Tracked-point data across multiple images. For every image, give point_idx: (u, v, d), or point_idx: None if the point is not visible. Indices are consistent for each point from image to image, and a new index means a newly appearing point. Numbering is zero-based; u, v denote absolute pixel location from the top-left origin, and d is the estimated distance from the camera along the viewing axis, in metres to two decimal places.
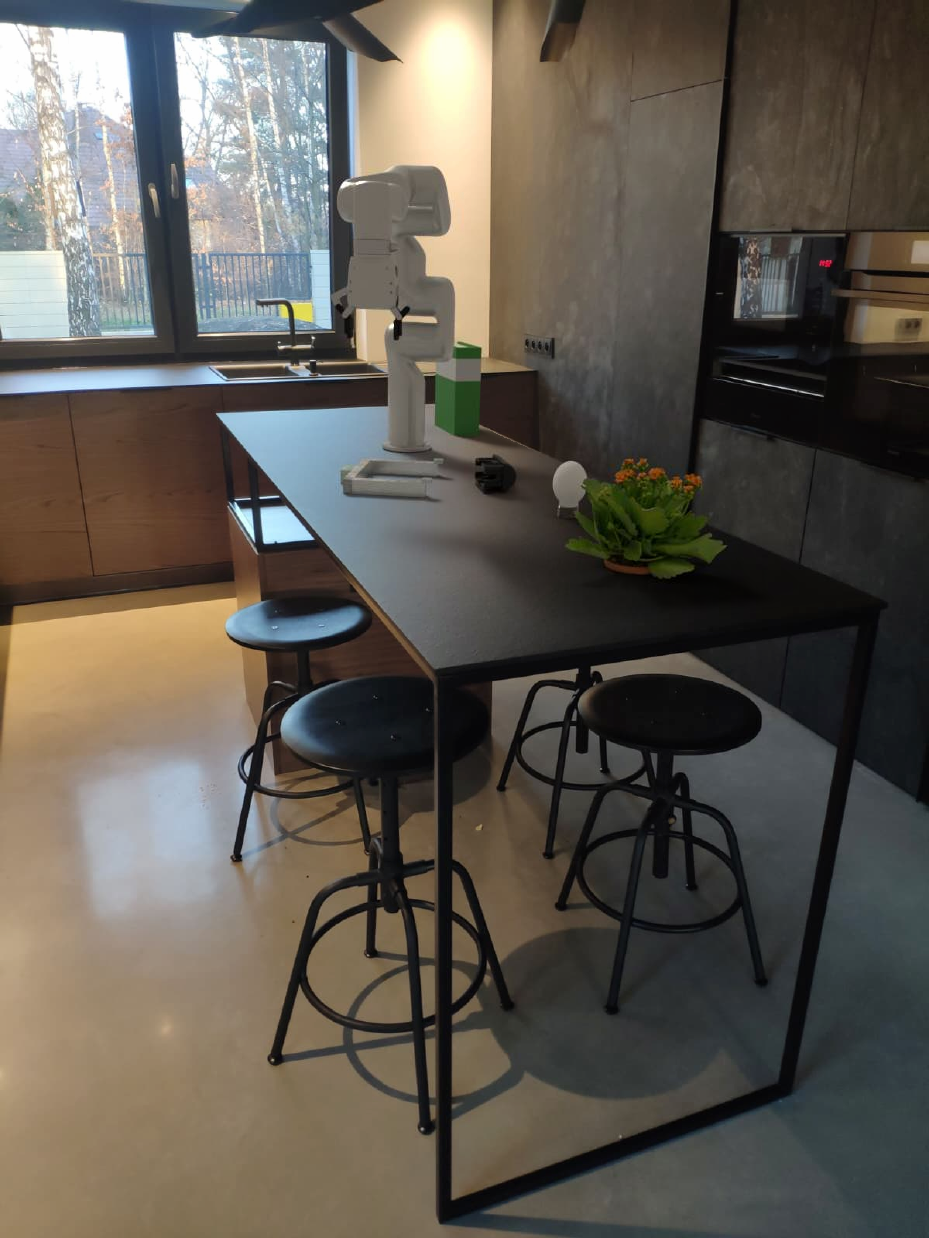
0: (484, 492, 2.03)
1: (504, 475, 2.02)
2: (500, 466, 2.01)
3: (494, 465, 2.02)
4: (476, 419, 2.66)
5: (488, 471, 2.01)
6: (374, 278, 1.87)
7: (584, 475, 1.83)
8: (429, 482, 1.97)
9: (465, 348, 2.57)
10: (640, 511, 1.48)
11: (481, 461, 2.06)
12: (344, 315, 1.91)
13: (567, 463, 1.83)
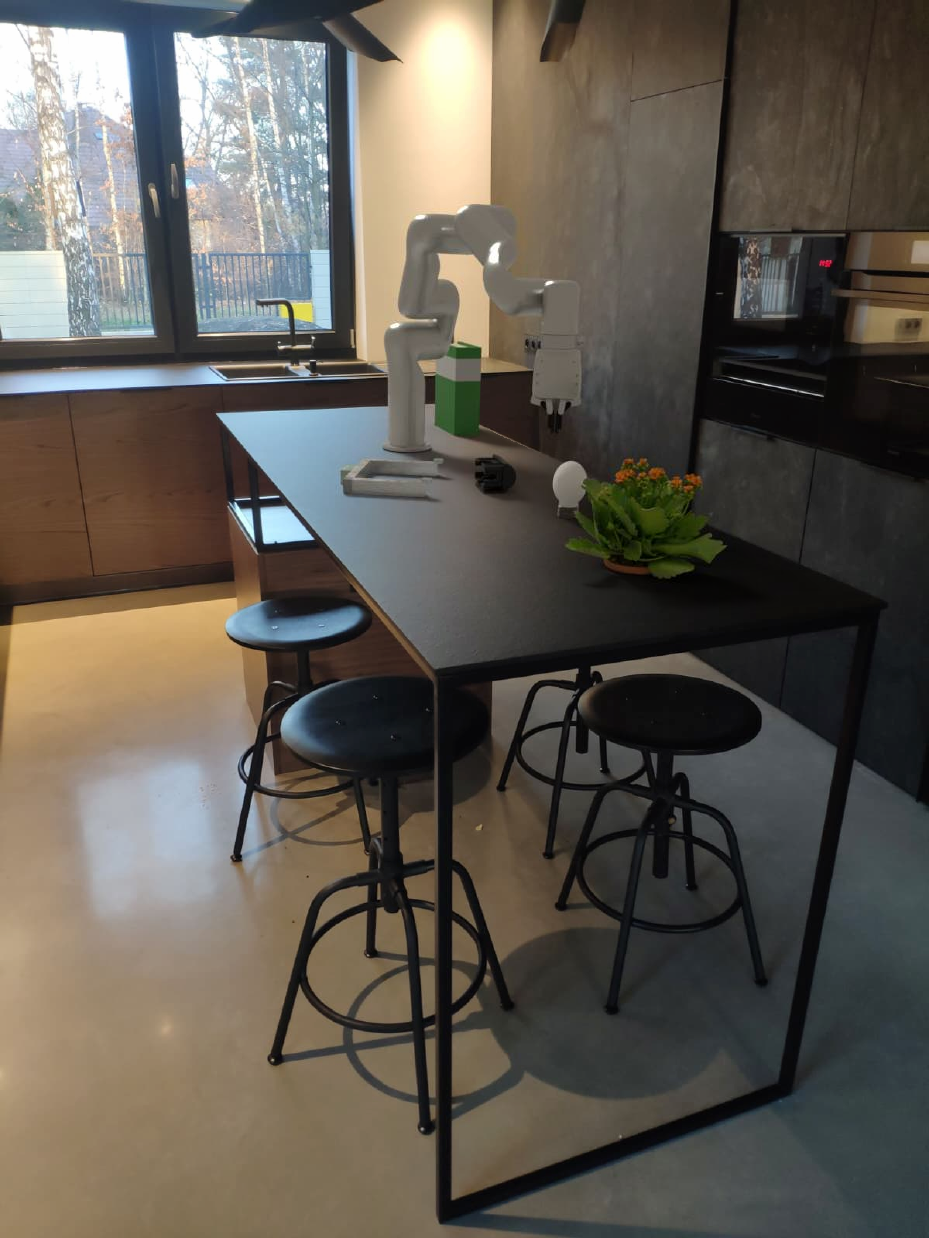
0: (484, 492, 2.03)
1: (504, 475, 2.02)
2: (500, 466, 2.01)
3: (494, 465, 2.02)
4: (476, 419, 2.66)
5: (488, 471, 2.01)
6: (561, 371, 1.94)
7: (584, 475, 1.83)
8: (429, 482, 1.97)
9: (465, 348, 2.57)
10: (640, 511, 1.48)
11: (481, 461, 2.06)
12: (549, 411, 1.99)
13: (567, 463, 1.83)
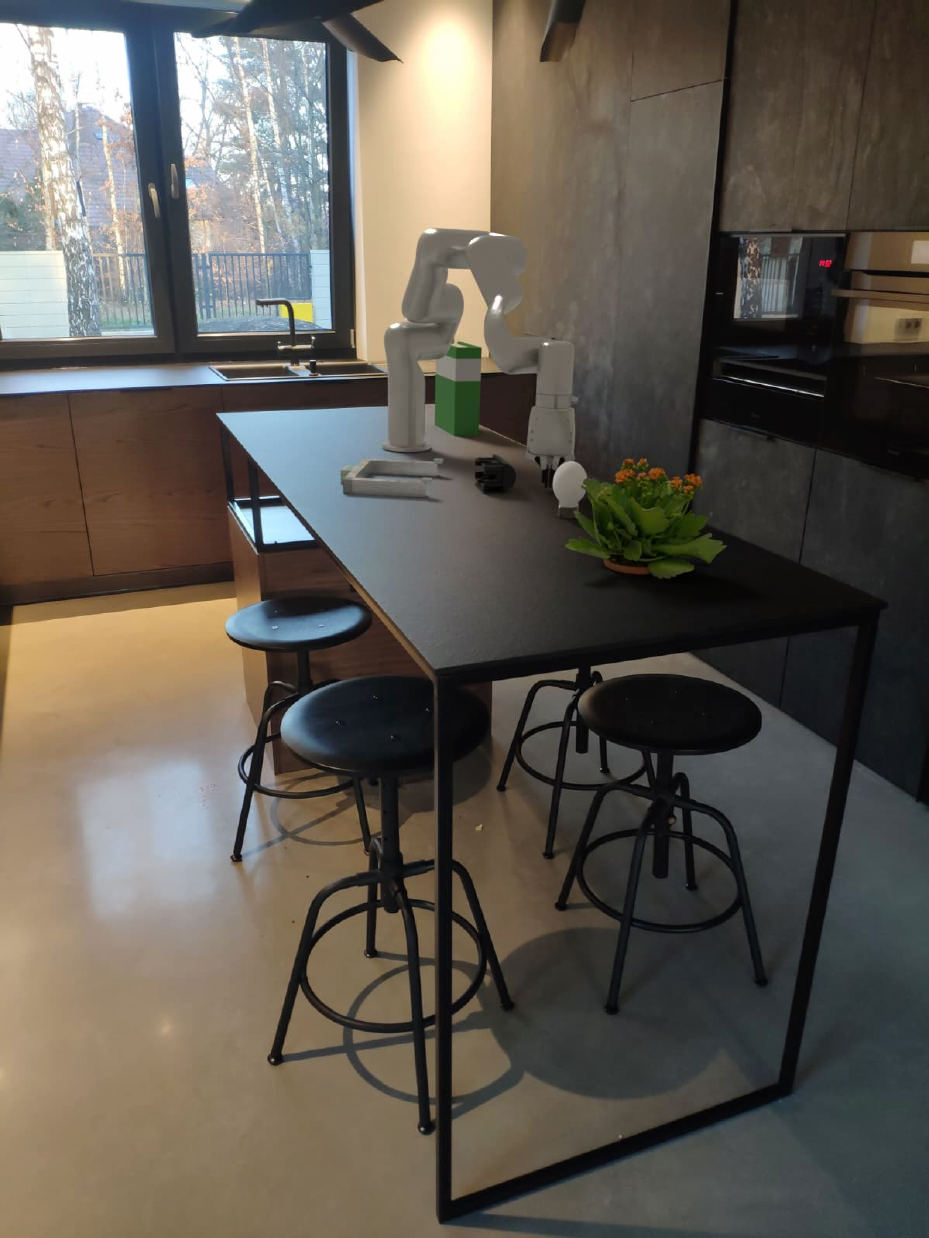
0: (484, 492, 2.03)
1: (504, 475, 2.02)
2: (500, 466, 2.01)
3: (494, 465, 2.02)
4: (476, 419, 2.66)
5: (488, 471, 2.01)
6: (555, 428, 1.99)
7: (584, 475, 1.83)
8: (429, 482, 1.97)
9: (465, 348, 2.57)
10: (640, 511, 1.48)
11: (481, 461, 2.06)
12: (543, 467, 2.03)
13: (567, 463, 1.83)
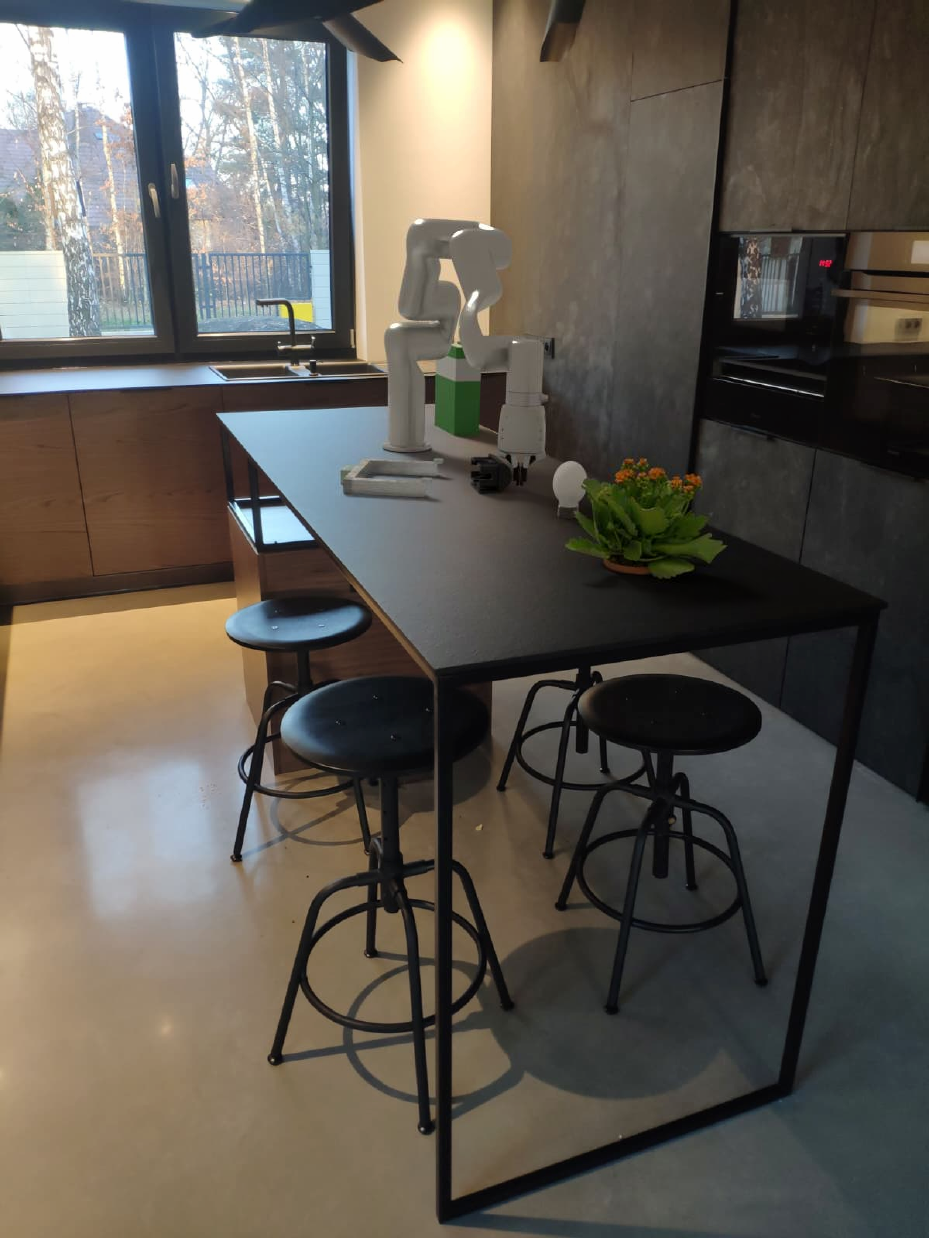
0: (480, 491, 2.03)
1: (500, 474, 2.01)
2: (495, 465, 2.01)
3: (490, 464, 2.01)
4: (476, 419, 2.66)
5: (484, 470, 2.01)
6: (525, 426, 1.99)
7: (584, 475, 1.83)
8: (429, 482, 1.97)
9: None
10: (640, 511, 1.48)
11: (477, 460, 2.06)
12: (514, 465, 2.04)
13: (567, 463, 1.83)
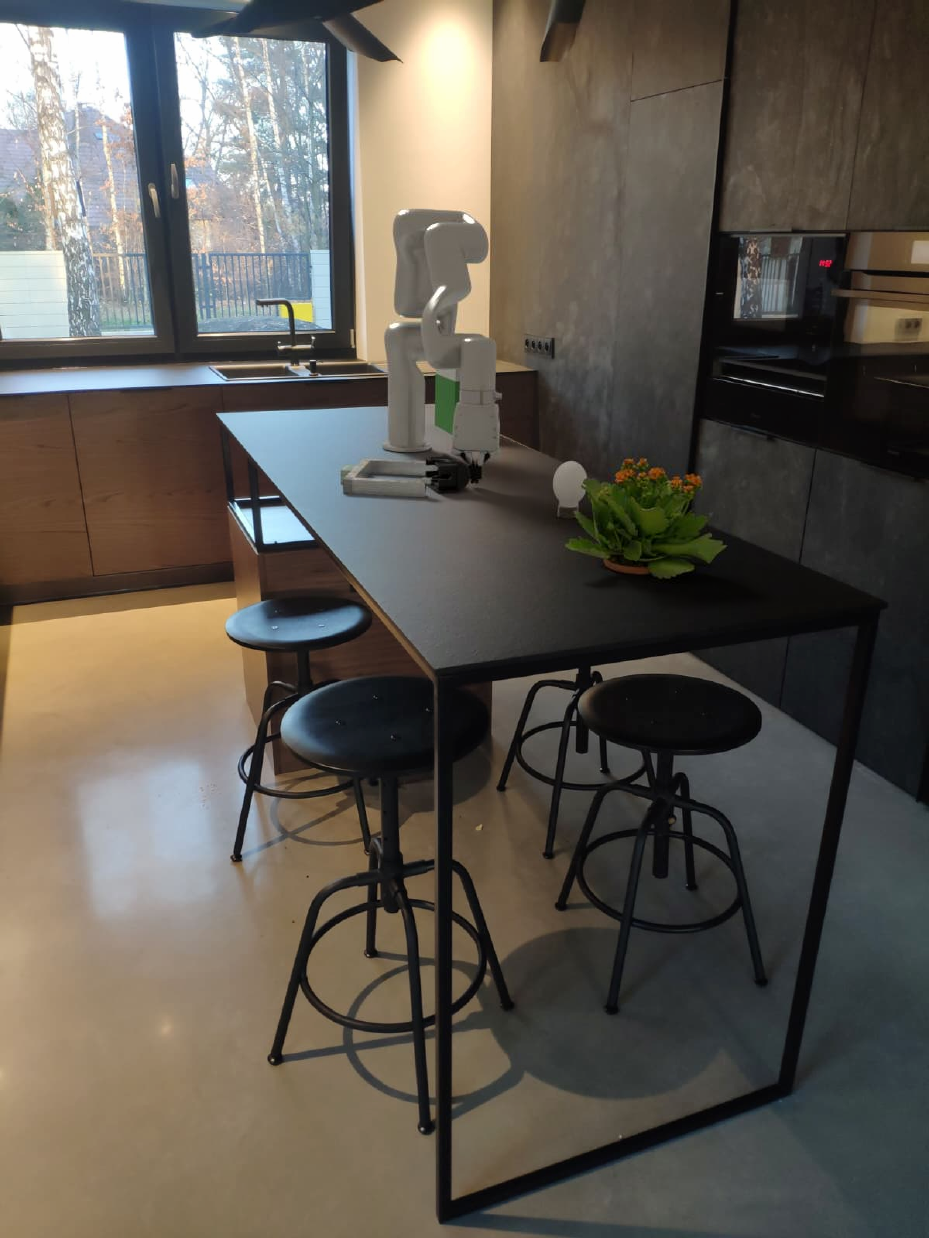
0: (439, 491, 2.02)
1: (458, 474, 2.01)
2: (454, 465, 2.01)
3: (448, 464, 2.01)
4: None
5: (443, 470, 2.00)
6: (479, 424, 2.00)
7: (584, 475, 1.83)
8: (429, 482, 1.97)
9: None
10: (640, 511, 1.48)
11: (433, 460, 2.05)
12: (468, 462, 2.05)
13: (567, 463, 1.83)
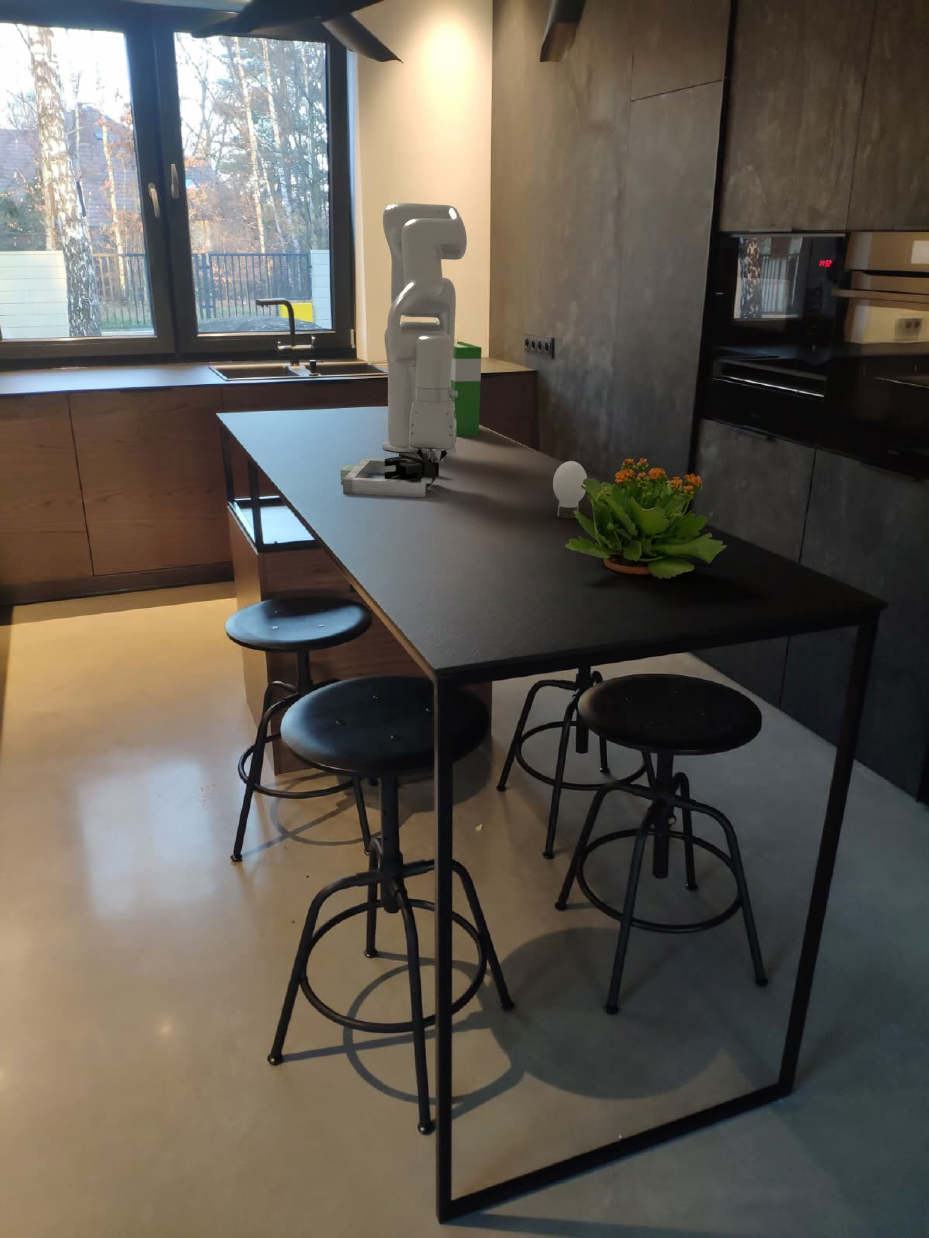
0: None
1: (425, 473, 2.01)
2: (420, 464, 2.01)
3: (414, 463, 2.00)
4: (476, 419, 2.66)
5: (410, 470, 1.99)
6: (435, 422, 2.01)
7: (584, 475, 1.83)
8: (429, 482, 1.97)
9: (465, 348, 2.57)
10: (640, 511, 1.48)
11: (394, 461, 2.03)
12: (425, 460, 2.06)
13: (567, 463, 1.83)
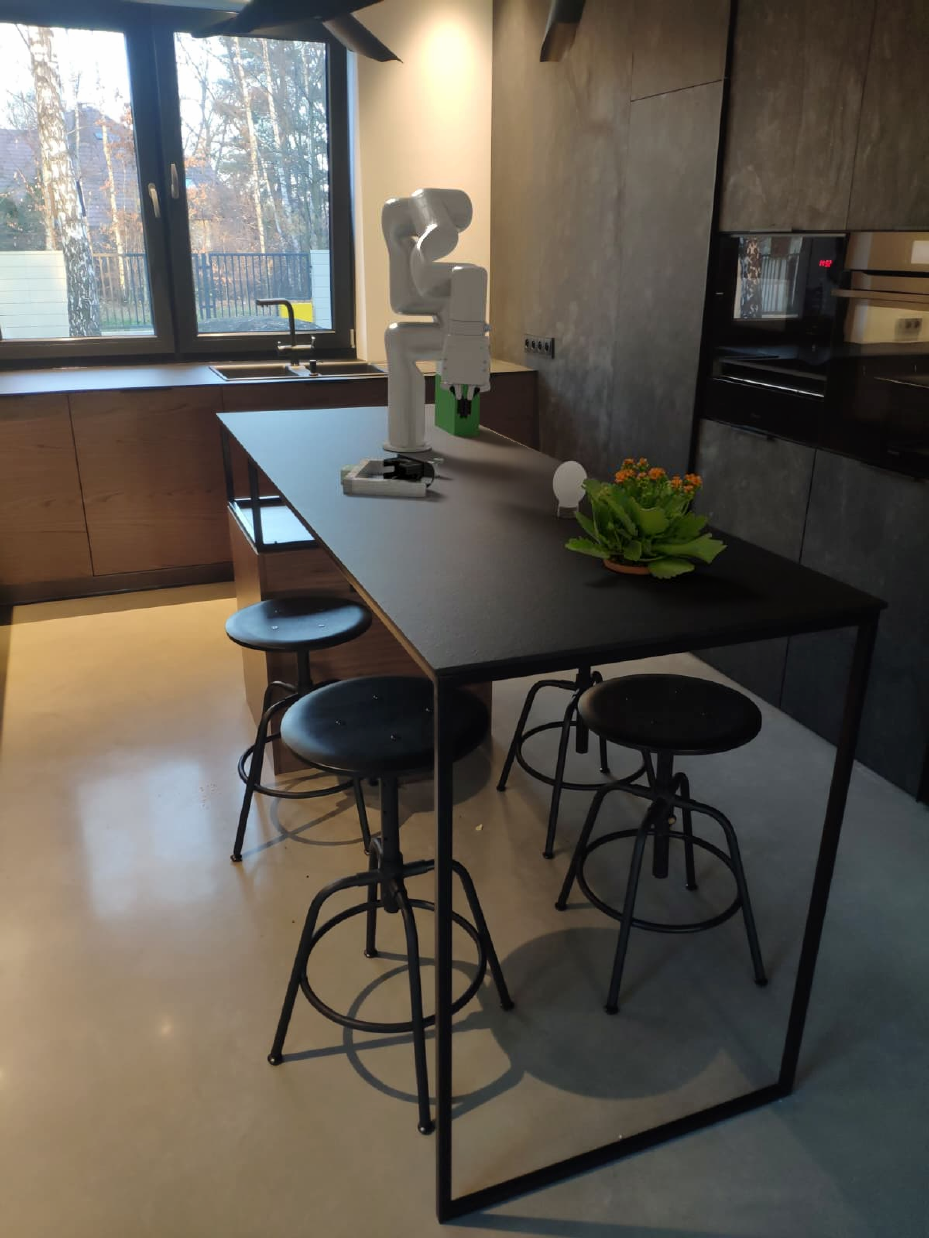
0: None
1: (425, 473, 2.01)
2: (419, 464, 2.01)
3: (414, 464, 2.00)
4: (476, 419, 2.66)
5: (410, 471, 1.99)
6: (469, 357, 1.96)
7: (584, 475, 1.83)
8: (429, 482, 1.97)
9: None
10: (640, 511, 1.48)
11: (393, 461, 2.03)
12: (458, 397, 2.00)
13: (567, 463, 1.83)
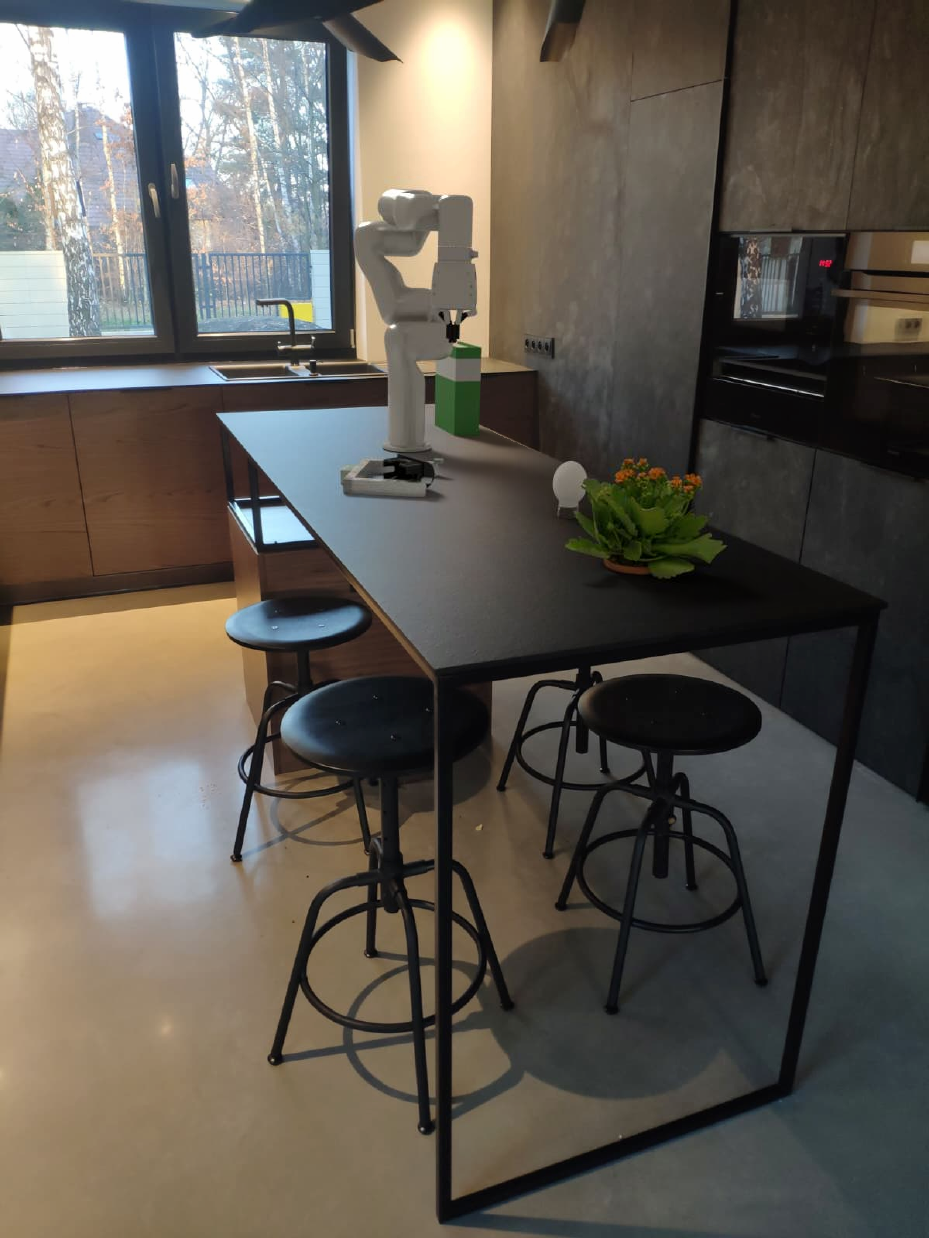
0: None
1: (425, 473, 2.01)
2: (419, 464, 2.01)
3: (414, 464, 2.00)
4: (476, 419, 2.66)
5: (410, 471, 1.99)
6: (456, 282, 2.07)
7: (584, 475, 1.83)
8: (429, 482, 1.97)
9: (465, 348, 2.57)
10: (640, 511, 1.48)
11: (393, 461, 2.03)
12: (446, 322, 2.12)
13: (567, 463, 1.83)
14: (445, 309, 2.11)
